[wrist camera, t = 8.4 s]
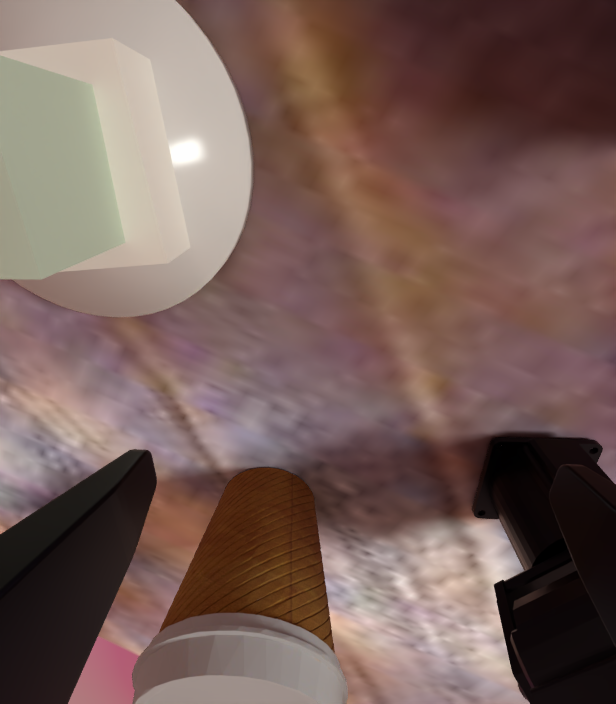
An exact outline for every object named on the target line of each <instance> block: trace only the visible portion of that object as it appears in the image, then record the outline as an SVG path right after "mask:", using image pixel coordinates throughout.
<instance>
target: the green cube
mask: <svg viewBox="0 0 616 704" xmlns="http://www.w3.org/2000/svg"><path fill="white" fill-rule="evenodd" d="M124 243H125V238H124V234H123V229H122V224H121V219H120V214H119V210H118V205H117V200H116V195H115V190H114V186H113V181H112V176H111V171H110V166H109V162H108V157H107V152H106V147H105V143H104V138H103V133H102V128H101V123H100V119H99V114H98V109H97V104H96V99H95V95H94V90H93V85H92V84H89V83H86V82H83V81H79V80H76V79H73V78H70V77H67V76H64V75H61V74H57V73H54V72H51V71H48V70H45V69H42V68H39V67H35V66H32V65H29V64H26V63H23V62H20V61H17V60H13V59H10V58H7V57H4V56H1V55H0V279H44V278H46V277H48V276H51V275H53V274H55V273H57V272H60V271H62V270H64V269H67V268H69V267H71V266H73V265H76V264H78V263H80V262H83V261H85V260H87V259H89V258H92V257H94V256H96V255H98V254H101V253H103V252H105V251H108V250H110V249H112V248H114V247H117V246H119V245H121V244H124Z"/></svg>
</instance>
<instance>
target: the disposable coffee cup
mask: <svg viewBox="0 0 616 704" xmlns="http://www.w3.org/2000/svg"><path fill="white" fill-rule="evenodd" d="M319 541H320V540H319V534H318V526H317V519H316V511H315V503H314V497H313V494H312V491H311V490H310V488H309V487H308V485H307V484H306V483H305V482H304V481H303V480H302V479H300V478H299V477H297V476H296V475H294V474H291V473H289V472H287V471H284V470H281V469H276V468H255V469H250V470H247V471H245V472H242V473H240V474H238V475H237V476H235V477H234V478H233V479H232V480H231V481H230V482H229V483H228V485H227V486H226V488H225V490H224V493H223V495H222V497H221V499H220V501H219V503H218V506H217V508H216V510H215V512H214V514H213V516H212V518H211V521H210V523H209V525H208V527H207V530H206V531H205V533H204V535H203V538H202V540H201V542H200V544H199V547H198V549H197V551H196V553H195V555H194V558H193V560H192V562H191V564H190V566H189V568H188V571H187V573H186V575H185V577H184V579H183V581H182V583H181V585H180V587H179V590H178V592H177V594H176V596H175V598H174V601H173V603H172V605H171V607H170V609H169V611H168V614H167V616H166V618H165V620H164V622H163V624H162V627H161V629H160V632H159V634H157V635H156V636H155V637H154V638H153V640H152V641H151V643H150V645H149V646H148V647H147V648H146V649H145V650H144V652H143V653H142V654H141V655H140V656H139V658H138V660H137V662H136V664H135V666H134V669H133V673H132V680H133V687H134V689H135V692H134V699H133V704H346V702H347V698H348V690H347V682H346V679H345V677H344V675H343V673H342V670H341V669H340V664H339V661H338V659H337V657H336V655H335V651H334V644H333V638H332V630H331V622H330V616H329V615H330V614H329V607H328V599H327V593H326V585H325V581H324V580H325V577H324V571H323V563H322V555H321V551H320V549H321V547H320V542H319Z"/></svg>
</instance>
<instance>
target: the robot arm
mask: <svg viewBox="0 0 616 704" xmlns="http://www.w3.org/2000/svg"><path fill="white" fill-rule="evenodd" d="M499 445H502V446H500V447H498V446H499ZM602 450H603V448H602V446H601V445H600V444H599V443H598V442H597V441H595V440H580V439H546V438H511V437H498V438H495V439H493V440H492V441H491V443H490V446H489V449H488V453H487V456H486V460H485V463H484V467H483V471H482V474H481V478H480V481H479V485H478V488H477V492H476V496H475V499H474V503H473V506H472V511H473V513H474V515H475V517H477V518H485V519H499V520H500V522H501V524H502V526H503V528H504V530H505V532H506V534H507V536H508V538H509V540H510V542H511V544H512V546H513V548H514V550H515V553H516V555H517V557H518V559H519V561H520V563H521V565H522V567H523V569H524V571H523V572H521V573H519V574H517V575H515V576H514V577H512V578H510V579H508V580H506V581H504V580H501V581H499V582H498V583H496V584H494V588H495V593H496V598H497V605H498V610H499V614H500V619H501V623H502V628H503V632H504V637H505V641H506V646H507V651H508V655H509V660H510V664H511V669H512V672H513V675H514V677H515V679H516V680H517V682H518V687H519V690H520V692H521V693H522V695H523V696H524V698H525V699H527V700H528V701H529V702H530V704H616V484H614V483H613V481H612V480H611V479H610V478H609V477H608V476H607V475H606V474H605V473H604V471H603V470H602V469H601V468H600V467H599V466H598V465H597V462H598V459H599V457H600V455H601V453H602ZM156 483H157V478H156V472H155V468H154V463H153V458H152V455H151V452H150V451H148V450H137V449H133V450H129V451H128V452H126V453H124V454H123V455H121V456H120V457H118V458H117V459H115V460H114V461H112V462H111V463H109V464H108V465H106V466H104V467H103V468H101V469H100V470H98V471H97V472H95V473H94V474H92V475H91V476H89V477H88V478H86V479H85V480H83V481H81V482H80V483H78V484H77V485H75V486H74V487H72V488H71V489H69V490H68V491H66V492H65V493H63V494H62V495H60V496H58V497H57V498H55V499H54V500H52V501H51V502H49V503H48V504H46V505H45V506H43V507H42V508H40V509H39V510H37V511H35V512H34V513H32V514H31V515H29V516H28V517H26V518H25V519H23V520H22V521H20V522H19V523H17V524H16V525H14V526H12V527H11V528H9V529H8V530H6V531H5V532H3V533H2V534H0V704H68V702H69V700H70V697H71V695H72V693H73V691H74V688H75V686H76V684H77V682H78V679H79V677H80V675H81V673H82V670H83V668H84V666H85V663H86V661H87V659H88V657H89V655H90V652H91V650H92V648H93V646H94V643H95V641H96V639H97V637H98V634H99V632H100V630H101V628H102V626H103V623H104V621H105V619H106V617H107V614H108V612H109V610H110V608H111V605H112V603H113V601H114V599H115V596H116V594H117V592H118V590H119V587H120V585H121V583H122V581H123V578H124V576H125V574H126V572H127V569H128V567H129V565H130V562H131V560H132V558H133V555H134V552H135V550H136V547H137V544H138V541H139V538H140V535H141V532H142V529H143V526H144V523H145V519H146V516H147V513H148V510H149V507H150V504H151V501H152V498H153V495H154V492H155V489H156Z"/></svg>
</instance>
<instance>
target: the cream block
mask: <svg viewBox="0 0 616 704" xmlns="http://www.w3.org/2000/svg"><path fill="white" fill-rule="evenodd" d="M0 55H1V56H4V57H7V58H10V59H13V60H17V61H20V62H23V63H26V64H29V65H32V66H35V67H39V68H42V69H45V70H48V71H51V72H54V73H57V74H61V75H64V76H67V77H70V78H73V79H76V80H79V81H83V82H86V83H89V84H92V85H93V90H94V95H95V99H96V104H97V109H98V114H99V119H100V123H101V128H102V133H103V138H104V143H105V147H106V152H107V157H108V162H109V166H110V171H111V176H112V181H113V186H114V190H115V195H116V200H117V205H118V210H119V214H120V219H121V224H122V229H123V234H124V238H125V243H124V244H121V245H119V246H117V247H114V248H112V249H110V250H108V251H105V252H103V253H101V254H98V255H96V256H94V257H92V258H89V259H87V260H85V261H83V262H80V263H78V264H76V265H73V266H71V267H69V268H67V269H64V270H62V271H60V272H65V271H78V270H90V269H103V268H116V267H128V266H141V265H154V264H166V263H169V262H170V261H172V260H173V259H175V258H176V257H178V256H179V255H180V254H182V253H183V252H185V251H186V250H188V249H189V248H190V243H189V238H188V233H187V229H186V224H185V219H184V215H183V210H182V205H181V201H180V196H179V191H178V187H177V182H176V177H175V173H174V168H173V163H172V159H171V154H170V150H169V145H168V140H167V136H166V131H165V126H164V122H163V117H162V112H161V108H160V103H159V98H158V94H157V89H156V84H155V80H154V75H153V70H152V66H151V61H150V59H148V58H147V57H145V56H143V55H141V54H140V53H138V52H136V51H134V50H133V49H131V48H129V47H127V46H126V45H124V44H122V43H120V42H119V41H117V40H115V39H113V38H107V39H99V40H90V41H82V42H73V43H65V44H57V45H48V46H40V47H31V48H23V49H14V50H6V51H0Z"/></svg>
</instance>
